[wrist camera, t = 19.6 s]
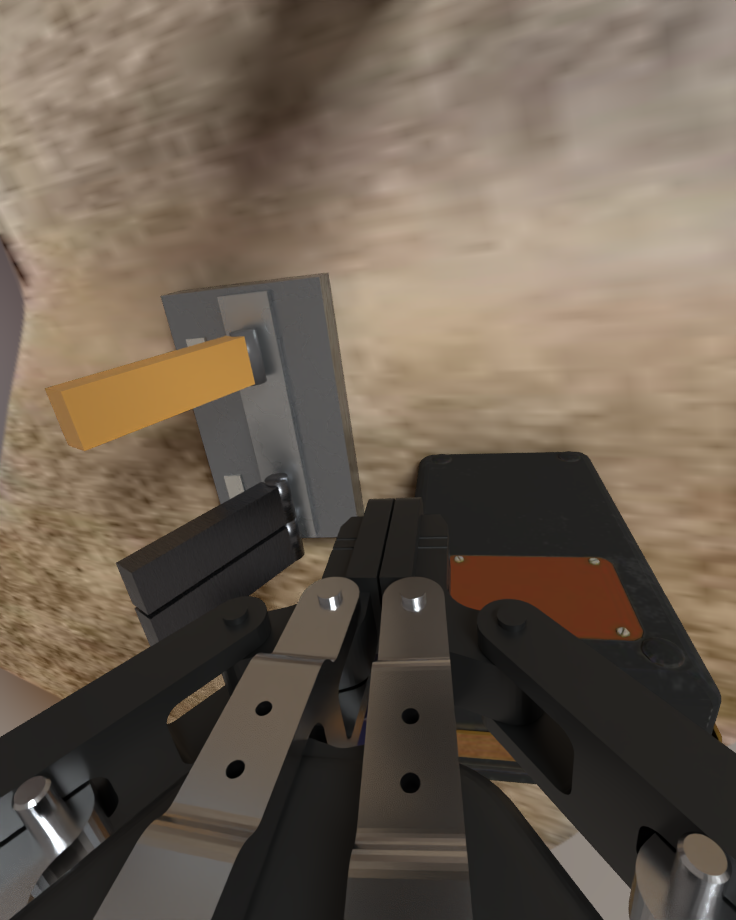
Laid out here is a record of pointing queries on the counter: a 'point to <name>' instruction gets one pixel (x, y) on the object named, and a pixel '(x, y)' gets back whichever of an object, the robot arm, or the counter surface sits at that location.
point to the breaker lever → (155, 388)
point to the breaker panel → (255, 453)
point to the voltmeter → (559, 577)
